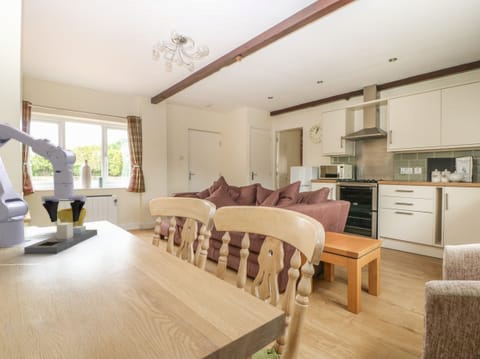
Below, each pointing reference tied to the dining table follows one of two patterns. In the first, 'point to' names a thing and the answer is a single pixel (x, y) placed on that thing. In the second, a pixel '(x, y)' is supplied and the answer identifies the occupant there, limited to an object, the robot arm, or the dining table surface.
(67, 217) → the plant pot
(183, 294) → the dining table surface
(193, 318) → the dining table surface
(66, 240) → the grey slotted board
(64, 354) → the dining table surface
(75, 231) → the white cube
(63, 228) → the plug
